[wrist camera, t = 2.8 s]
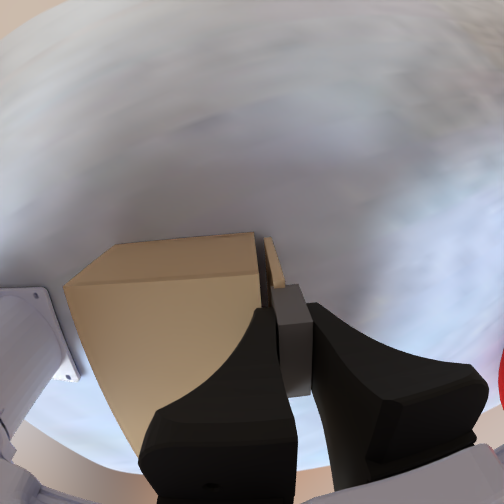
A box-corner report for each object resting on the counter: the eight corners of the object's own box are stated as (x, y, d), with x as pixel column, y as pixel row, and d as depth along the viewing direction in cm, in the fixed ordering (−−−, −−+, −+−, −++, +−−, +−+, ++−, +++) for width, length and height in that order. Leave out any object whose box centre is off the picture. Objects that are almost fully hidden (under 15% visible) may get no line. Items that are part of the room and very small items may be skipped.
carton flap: (272, 401, 20) (283, 499, 12) (261, 237, 16) (277, 316, 8) (286, 399, 20) (301, 497, 12) (280, 236, 16) (313, 312, 8)
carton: (160, 405, 20) (143, 466, 15) (114, 244, 16) (62, 286, 11) (266, 402, 20) (272, 468, 15) (253, 232, 16) (258, 274, 11)
